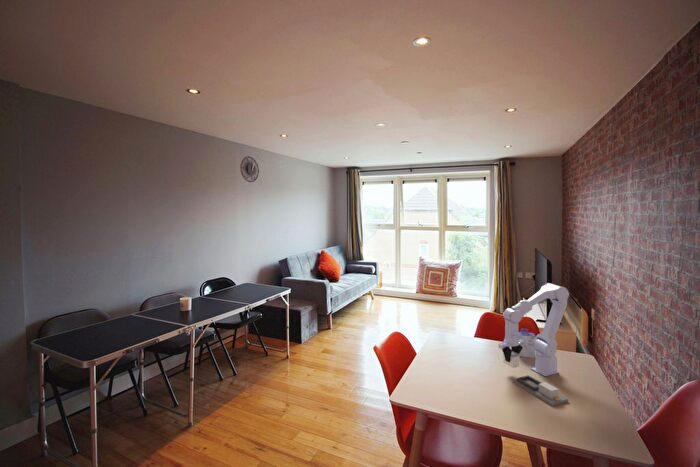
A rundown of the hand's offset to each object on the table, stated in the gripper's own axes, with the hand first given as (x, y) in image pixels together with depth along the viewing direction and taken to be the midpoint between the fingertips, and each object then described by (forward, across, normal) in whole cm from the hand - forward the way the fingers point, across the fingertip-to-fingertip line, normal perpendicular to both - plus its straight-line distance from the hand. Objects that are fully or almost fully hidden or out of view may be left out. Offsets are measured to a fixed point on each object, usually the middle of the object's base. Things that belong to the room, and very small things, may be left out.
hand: (511, 360), depth 155 cm
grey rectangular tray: (+7, +1, +16) cm, 17 cm away
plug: (+2, 0, 0) cm, 2 cm away
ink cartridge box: (+7, -24, -13) cm, 28 cm away
